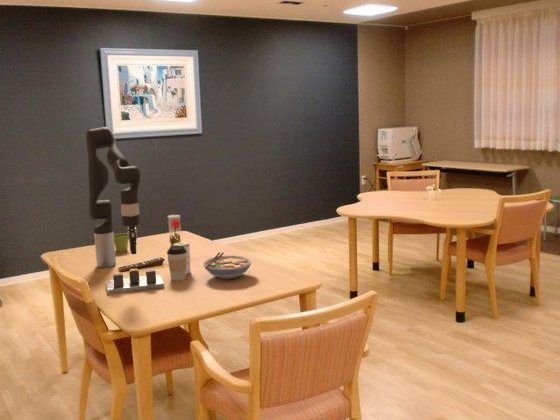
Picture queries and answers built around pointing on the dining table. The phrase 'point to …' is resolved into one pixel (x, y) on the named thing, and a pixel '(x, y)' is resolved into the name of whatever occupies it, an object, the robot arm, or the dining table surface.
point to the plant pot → (121, 242)
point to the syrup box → (186, 246)
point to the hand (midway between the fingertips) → (133, 252)
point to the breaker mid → (134, 275)
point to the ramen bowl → (227, 265)
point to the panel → (134, 285)
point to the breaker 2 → (150, 276)
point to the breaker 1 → (118, 279)
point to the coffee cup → (177, 262)
